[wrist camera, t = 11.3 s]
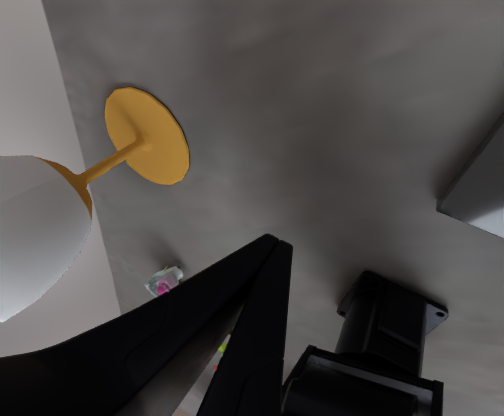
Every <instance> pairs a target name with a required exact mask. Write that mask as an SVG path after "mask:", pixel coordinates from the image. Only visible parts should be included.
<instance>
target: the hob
mask: <svg viewBox="0 0 504 416" xmlns="http://www.w3.org/2000/svg"><path fill="white" fill-rule="evenodd" d="M436 211H438V212H440V213H443V214H445V215H448V216H450V217H453V218H455V219H458V220H460V221H462V222H465V223H467V224H470V225H472V226H475V227H477V228H480V229H482V230H485V231H487V232H489V233H492V234H494V235H497V236H499V237H502V238H504V113H503V114H502V116H501V117H500V118H499V120H498V121H497V122H496V123H495V125H494V126H493V127H492V129H491V130H490V131H489V133H488V134H487V135H486V137H485V138H484V139H483V141H482V142H481V143H480V145H479V146H478V147H477V148H476V150H475V151H474V152H473V154H472V155H471V156H470V158H469V159H468V160H467V162H466V163H465V164H464V166H463V167H462V168H461V170H460V171H459V172H458V173H457V175H456V176H455V177H454V179H453V180H452V181H451V183H450V184H449V185H448V187H447V188H446V189H445V191H444V192H443V193H442V195H441V196H440V197H439V198H438V200H437V202H436Z"/></svg>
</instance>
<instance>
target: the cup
mask: <svg viewBox="0 0 504 416" xmlns="http://www.w3.org/2000/svg"><path fill="white" fill-rule="evenodd" d="M104 116H105V121H106V125H107V130H108V134H109V136H110V137H111V139H112V141H113V143H114V145H115V147H116V149H117V151H118V152H116V153H114V154H113V155H111V156H110V157H108V158H106V159H105V160H103V161H101V162H100V163H98V164H96V165H95V166H93V167H91V168H90V169H88V170H87V171H85V172H83V173H82V174H80V175H76V174H74V173H72V172H71V171H70V170H69V169H67V168H66V167H64V166H62V165H60V164H58V163H55V162H52V161H48V160H45V159H41V158H38V157H34V156H0V322H5V321H6V320H8V319H9V318H11V317H12V316H14V315H15V314H17V313H18V312H20V311H21V310H23V309H25V308H26V307H28V306H29V305H31V304H32V303H34V302H35V301H37V300H38V299H39V298H40V297H41V296H42V295H43V294H44V293H45V292H46V291H47V290H48V289H49V288H50V287H51V286H52V285H53V284H54V283H55V282H57V281H58V280H59V279H60V278H61V276H63V274H64V273H65V272H66V270H67V269H68V268H69V266H70V265H71V264H72V262H73V261H74V260H75V258H76V257H77V256H78V254H79V253H80V252H81V249H82V247H83V245H84V243H85V241H86V239H87V237H88V235H89V233H90V231H91V225H92V200H91V197H90V194H89V193H88V191H87V189H86V187H87V184H88V183H90V182H91V181H93V180H94V179H96V178H97V177H99V176H100V175H102V174H104V173H105V172H107V171H108V170H110V169H111V168H113V167H114V166H116V165H118V164H119V163H121V162H122V161H124V160H125V161H126V162H127V164H128V165H129V166H130V167H132V168H133V169H134V170H135V171H136V172H138V173H139V174H140V175H141V176H142V177H144V178H146V179H148V180H151V181H153V182H155V183H157V184H166V185H172V184H174V183H176V182H178V181H180V180H182V179H183V178H184V176H185V174H186V172H187V170H188V168H189V148H188V145H187V143H186V140H185V137H184V135H183V132H182V129H181V127H180V126H179V124H178V123H177V122H176V120H175V119H174V117H173V116H172V114H171V113H170V112H169V110H168V109H167V108H166V107H165V106H164V105H162V104H161V103H160V102H159V101H158V100H156V99H155V98H154V97H153V96H152V95H150V94H149V93H147V92H144V91H141V90H139V89H136V88H133V87H126V88H120V89H115V90H114V92H113V93H112V94H111V95H110V96H109V97H108V98H107V100H106V107H105V114H104Z"/></svg>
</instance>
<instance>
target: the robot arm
mask: <svg viewBox="0 0 504 416" xmlns="http://www.w3.org/2000/svg"><path fill="white" fill-rule="evenodd" d="M292 253H293V246H292V245H291V244H289V243H287V242H285V241H283V240H280V241H279V239H278V238H277V237H275V236H273V235H271V234H264V235H263V236H261V237H259V238H257V239H256V240H254V241H252V242H251V243H249V244H247V245H245V246H244V247H242V248H240V249H239V250H237V251H235V252H233V253H232V254H230V255H228V256H227V257H225V258H223V259H221V260H220V261H218V262H216V263H215V264H213V265H211V266H209V267H208V268H206V269H204V270H203V271H201V272H199V273H197V274H196V275H194V276H192V277H190V278H189V279H187V280H185V281H184V282H182V283H180V284H178V285H177V286H175V287H173V288H172V289H170V290H169V293H168V292H167V291H166V292H164V293H163V294H161V295H159V296H158V297H156V298H154V299H152V300H151V301H149V302H147V303H145V304H143V305H141V306H140V307H138V308H136V309H134V310H132V311H130V312H127V313H125V314H123V315H121V316H119V317H117V318H115V319H113V320H110V321H108V322H106V323H104V324H102V325H100V326H97V327H95V328H93V329H90V330H88V331H86V332H84V333H82V334H79V335H77V336H75V337H73V338H71V339H69V340H66V341H64V342H61V343H59V344H57V345H54V346H51V347H48V348H45V349H42V350H38V351H34V352H30V353H24V354H18V355H13V356H6V357H1V358H0V416H172V414H173V413H174V411H175V410H176V409H177V407H178V406H179V404H180V403H181V401H182V400H183V399H184V397H185V396H186V394H187V393H188V391H189V390H190V389H191V387H192V386H193V384H194V383H195V381H196V380H197V379H198V377H199V376H200V374H201V373H202V372H203V370H204V369H205V367H206V366H207V364H208V363H209V362H210V360H211V359H212V357H213V356H214V354H215V353H216V352H217V350H218V349H219V347H220V346H221V344H222V343H223V342H224V340H225V339H226V337H227V336H228V335H229V333H230V332H231V330H232V329H233V327H234V326H235V327H234V329H233V332H232V334H231V336H230V339H229V341H228V343H227V346H226V348H225V350H224V352H223V355H222V357H221V359H220V362H219V364H218V366H217V369H216V371H215V373H214V375H213V378H212V380H211V382H210V385H209V387H208V389H207V392H206V394H205V396H204V398H203V401H202V403H201V405H200V408H199V410H198V412H197V415H196V416H443V386H444V382H440V381H437V380H434V381H431V380H428V379H424V378H421V374H422V363H423V353H424V343H425V335H427V334H428V333H429V332H430V331H432V330H433V329H434V328H435V327H437V326H438V325H439V324H440V323H441V322H443V321H444V320H445V319H446V318H447V317H448V309H447V308H445V307H444V306H442V305H440V304H438V303H435V302H433V301H431V300H429V299H427V298H425V297H423V296H421V295H419V294H417V293H414V292H412V291H410V290H408V289H406V288H404V287H402V286H400V285H398V284H396V283H393V282H391V281H389V280H387V279H385V278H383V277H381V276H379V275H377V274H375V273H372V272H370V271H363V272H362V273H361V274H360V276H359V277H358V279H357V280H356V281H355V283H354V284H353V286H352V287H351V289H350V290H349V292H348V293H347V295H346V296H345V298H344V299H343V301H342V302H341V304H340V305H339V307H338V309H337V313H338V314H339V315H340V316H342V317H344V318H345V321H344V324H343V327H342V330H341V333H340V336H339V340H338V343H337V346H336V349H335V352H334V353H333V352H329V351H326V350H322V349H319V348H317V347H316V346H313V345H308V347H307V348H306V350H305V352H304V353H303V354H302V356H301V357H300V359H299V360H298V362H297V364H296V365H295V367H294V368H293V370H292V372H291V373H290V375H289V376H288V378H287V380H286V381H285V383H284V384H283V386H282V379H283V366H284V360H283V358H284V352H285V339H286V327H287V315H288V302H289V290H290V278H291V265H292ZM368 277H369V278H368Z"/></svg>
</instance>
